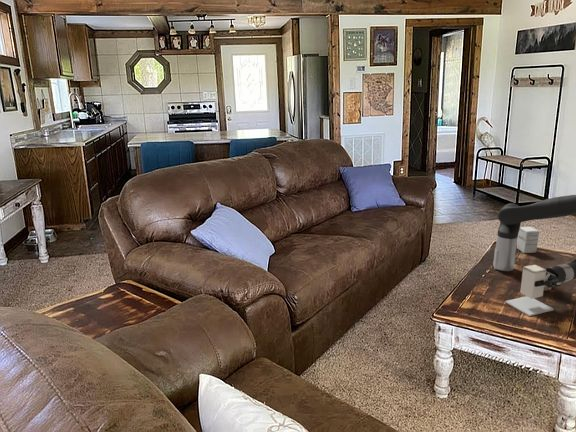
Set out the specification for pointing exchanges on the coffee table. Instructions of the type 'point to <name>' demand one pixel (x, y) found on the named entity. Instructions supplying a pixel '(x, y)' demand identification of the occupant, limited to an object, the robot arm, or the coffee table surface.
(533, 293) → the cream box
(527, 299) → the grey mat
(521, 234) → the supplement box
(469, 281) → the coffee table surface
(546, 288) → the maple letter cube
